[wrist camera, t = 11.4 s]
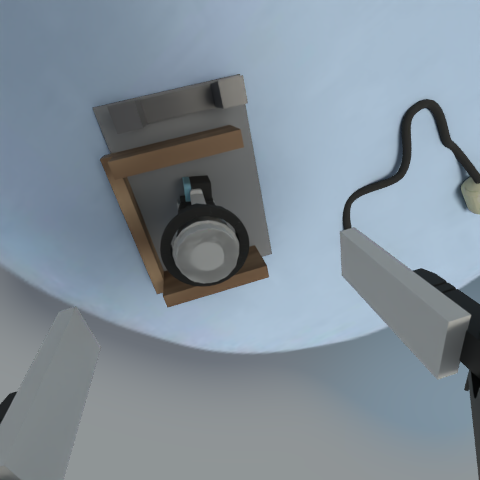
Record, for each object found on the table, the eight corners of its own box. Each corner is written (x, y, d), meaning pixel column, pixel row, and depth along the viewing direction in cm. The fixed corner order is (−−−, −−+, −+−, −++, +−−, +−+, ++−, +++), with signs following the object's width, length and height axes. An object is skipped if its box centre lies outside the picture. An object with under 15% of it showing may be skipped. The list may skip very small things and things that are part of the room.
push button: (227, 240, 28) (253, 306, 19) (169, 246, 27) (169, 319, 18) (224, 169, 25) (253, 208, 16) (159, 173, 24) (152, 217, 15)
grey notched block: (118, 104, 21) (106, 106, 17) (230, 79, 22) (242, 75, 18) (126, 127, 22) (117, 134, 18) (234, 102, 23) (247, 103, 19)
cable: (299, 207, 29) (315, 220, 26) (433, 80, 27) (467, 78, 24) (374, 289, 36) (392, 306, 33) (485, 194, 34) (517, 203, 30)
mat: (94, 107, 22) (92, 107, 21) (238, 74, 23) (239, 73, 22) (164, 282, 29) (163, 285, 28) (270, 251, 30) (271, 253, 29)
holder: (104, 155, 23) (92, 166, 19) (230, 124, 23) (240, 129, 20) (157, 284, 28) (155, 311, 25) (257, 255, 29) (269, 277, 26)
